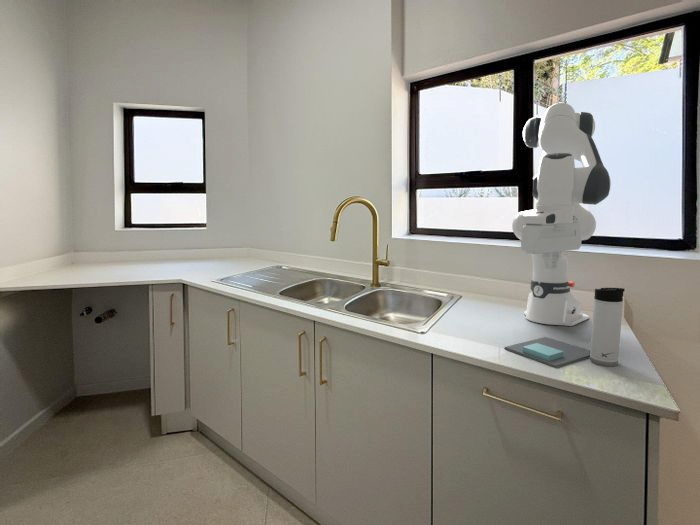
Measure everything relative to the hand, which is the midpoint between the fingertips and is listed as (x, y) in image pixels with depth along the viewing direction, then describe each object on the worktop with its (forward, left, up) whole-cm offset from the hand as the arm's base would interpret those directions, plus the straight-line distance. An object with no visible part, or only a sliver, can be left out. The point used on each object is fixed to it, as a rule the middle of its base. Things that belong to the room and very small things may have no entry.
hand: (551, 268), depth 109 cm
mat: (-3, -1, -24) cm, 24 cm away
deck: (-1, 0, -23) cm, 23 cm away
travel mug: (-8, +11, -24) cm, 28 cm away
